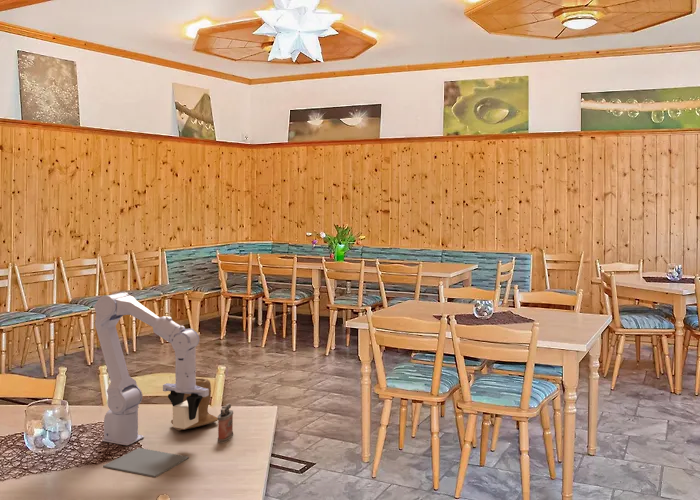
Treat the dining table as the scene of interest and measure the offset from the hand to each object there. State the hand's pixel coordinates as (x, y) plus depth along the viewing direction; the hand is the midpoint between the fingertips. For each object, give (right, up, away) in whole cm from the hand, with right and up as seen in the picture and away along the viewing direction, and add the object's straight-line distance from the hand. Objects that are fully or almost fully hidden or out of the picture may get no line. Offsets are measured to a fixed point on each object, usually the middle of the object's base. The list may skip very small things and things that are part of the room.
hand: (185, 417), depth 208 cm
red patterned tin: (+10, -9, +10) cm, 16 cm away
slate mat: (-8, -10, -11) cm, 17 cm away
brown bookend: (-3, -8, +21) cm, 23 cm away
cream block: (0, -2, 0) cm, 2 cm away
